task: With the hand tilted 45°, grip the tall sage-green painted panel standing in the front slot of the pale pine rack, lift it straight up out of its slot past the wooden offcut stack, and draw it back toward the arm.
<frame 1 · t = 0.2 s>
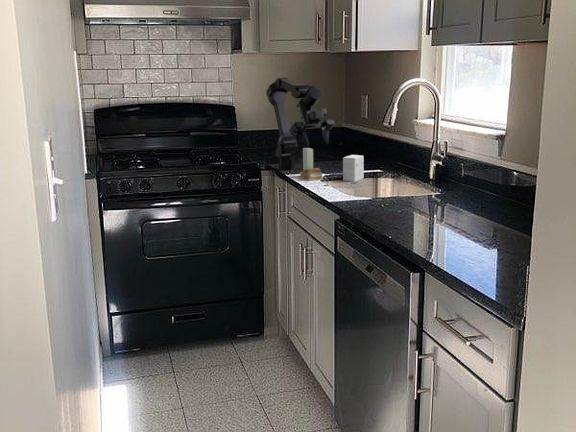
hand: (318, 144, 268), 15 cm above the worktop, tool tilted 35°, fingers open, 9 cm apart
pine rack: (310, 179, 272), on the worktop
small box: (353, 182, 267), on the worktop
sage panel: (308, 176, 274), point 1 cm above the worktop, touching pine rack
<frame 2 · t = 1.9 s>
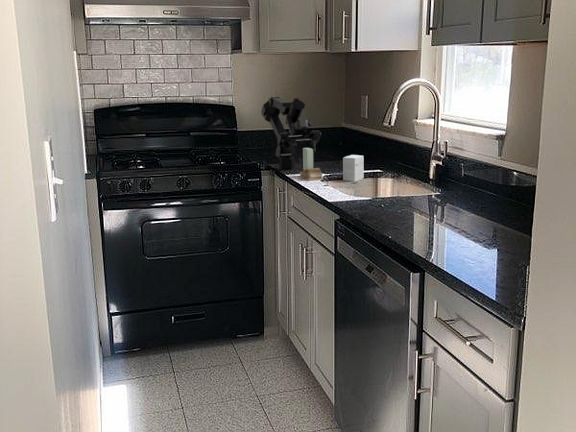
hand: (304, 153, 275), 11 cm above the worktop, tool tilted 45°, fingers open, 9 cm apart
nothing on the worktop moved.
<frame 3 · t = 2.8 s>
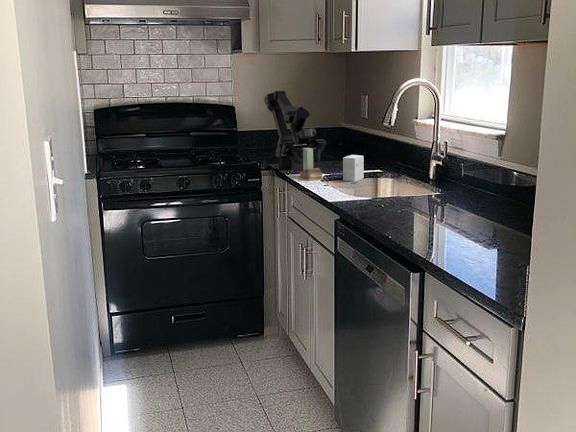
hand: (309, 162, 271), 7 cm above the worktop, tool tilted 45°, fingers open, 9 cm apart
nothing on the worktop moved.
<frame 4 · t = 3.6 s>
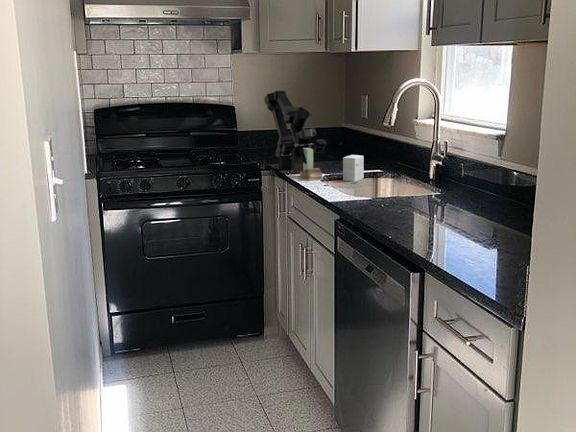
hand: (309, 163, 271), 7 cm above the worktop, tool tilted 45°, fingers closed on sage panel, 3 cm apart
sage panel: (308, 176, 274), point 1 cm above the worktop, touching gripper, pine rack
everything else where it was.
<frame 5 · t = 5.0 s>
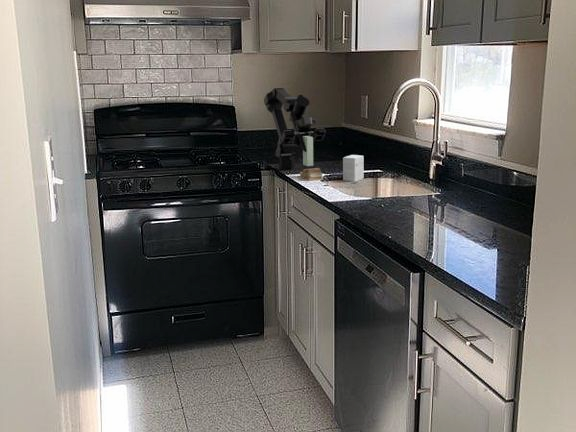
hand: (309, 151, 270), 12 cm above the worktop, tool tilted 45°, fingers closed on sage panel, 3 cm apart
sage panel: (308, 165, 273), point 6 cm above the worktop, touching gripper
everything else where it was.
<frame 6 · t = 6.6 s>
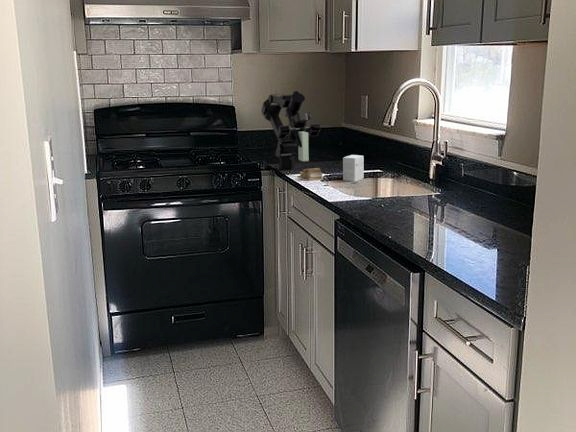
hand: (304, 146, 274), 14 cm above the worktop, tool tilted 45°, fingers closed on sage panel, 3 cm apart
sage panel: (303, 160, 277), point 7 cm above the worktop, touching gripper
everything else where it was.
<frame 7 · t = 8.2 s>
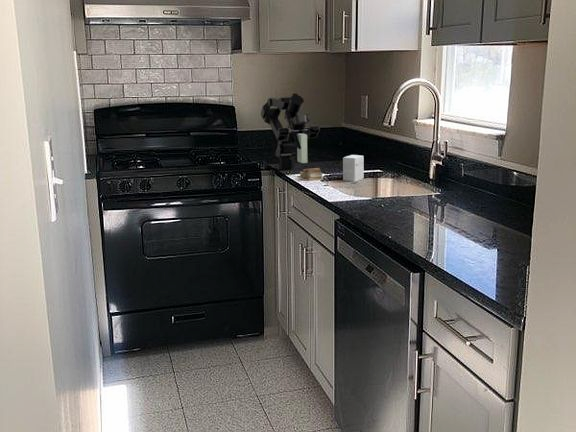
hand: (303, 148, 276), 13 cm above the worktop, tool tilted 45°, fingers closed on sage panel, 3 cm apart
sage panel: (302, 162, 279), point 6 cm above the worktop, touching gripper
everything else where it was.
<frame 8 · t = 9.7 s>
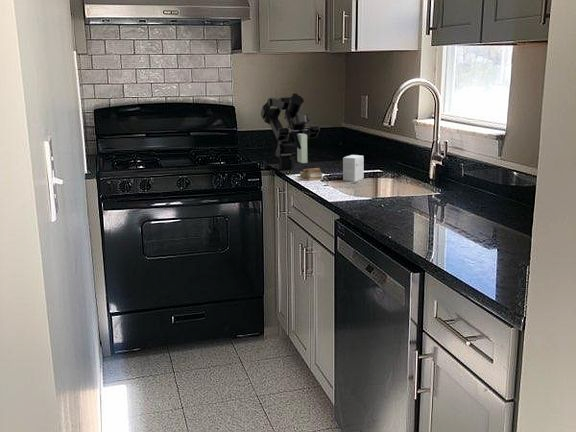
hand: (303, 148, 276), 13 cm above the worktop, tool tilted 45°, fingers closed on sage panel, 3 cm apart
sage panel: (302, 162, 279), point 6 cm above the worktop, touching gripper
everything else where it was.
at the end: the gripper is holding sage panel; sage panel point 6.4 cm above the worktop; sage panel touching gripper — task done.
